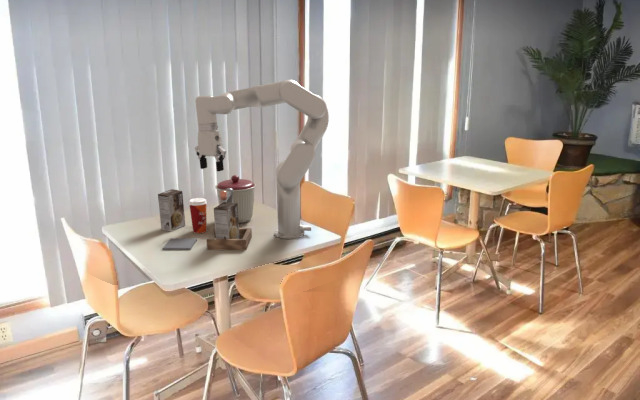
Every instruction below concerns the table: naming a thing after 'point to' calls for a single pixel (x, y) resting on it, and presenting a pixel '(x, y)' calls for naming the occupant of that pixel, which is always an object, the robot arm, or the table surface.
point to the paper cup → (198, 214)
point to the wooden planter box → (231, 243)
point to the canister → (239, 195)
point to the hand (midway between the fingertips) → (212, 169)
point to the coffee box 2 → (226, 221)
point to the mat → (180, 244)
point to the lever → (226, 194)
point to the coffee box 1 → (171, 210)
